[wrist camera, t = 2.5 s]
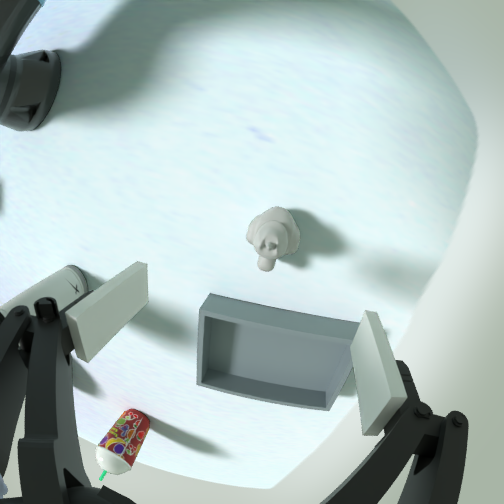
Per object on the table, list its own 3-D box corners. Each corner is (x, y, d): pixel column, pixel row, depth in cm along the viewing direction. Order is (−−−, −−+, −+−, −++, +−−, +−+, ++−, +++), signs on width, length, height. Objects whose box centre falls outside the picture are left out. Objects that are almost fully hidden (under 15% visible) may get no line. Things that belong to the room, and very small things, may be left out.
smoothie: (128, 399, 47) (83, 465, 29) (160, 421, 48) (122, 490, 29) (119, 411, 50) (80, 469, 32) (148, 430, 51) (114, 491, 32)
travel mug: (90, 275, 37) (-2, 341, 19) (86, 304, 40) (8, 370, 21) (66, 256, 37) (-25, 309, 19) (63, 285, 40) (-16, 341, 21)
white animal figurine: (306, 210, 29) (308, 229, 21) (290, 265, 31) (286, 299, 24) (258, 197, 29) (242, 211, 22) (245, 253, 32) (227, 283, 24)
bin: (209, 293, 34) (199, 309, 30) (359, 322, 32) (364, 341, 28) (204, 367, 39) (196, 384, 35) (328, 391, 36) (329, 411, 33)
